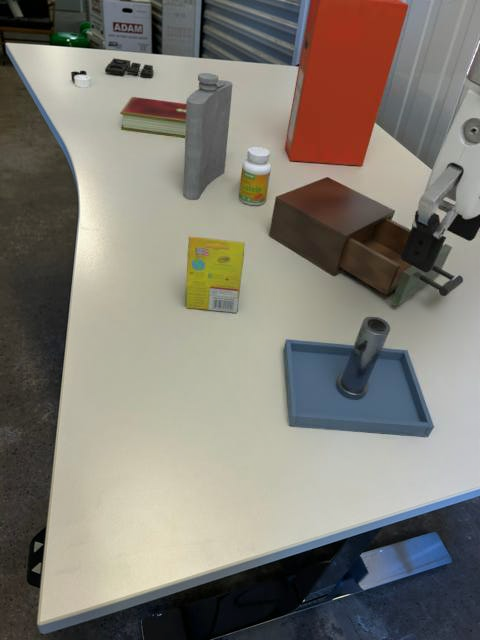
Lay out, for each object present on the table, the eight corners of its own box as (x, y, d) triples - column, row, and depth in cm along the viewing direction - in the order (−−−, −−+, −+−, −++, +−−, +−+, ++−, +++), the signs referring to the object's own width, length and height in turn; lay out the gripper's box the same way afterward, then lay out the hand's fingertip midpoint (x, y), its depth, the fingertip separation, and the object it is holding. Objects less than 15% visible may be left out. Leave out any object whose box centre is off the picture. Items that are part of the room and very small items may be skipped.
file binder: (284, 147, 115) (312, -13, 94) (353, 152, 118) (395, -2, 96) (289, 161, 109) (321, -6, 88) (362, 166, 112) (409, 5, 91)
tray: (402, 360, 64) (407, 350, 63) (427, 437, 55) (434, 426, 54) (283, 349, 63) (285, 339, 62) (289, 426, 54) (292, 415, 53)
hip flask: (195, 201, 91) (201, 89, 77) (176, 195, 91) (178, 83, 78) (226, 170, 102) (236, 68, 89) (209, 165, 103) (216, 63, 90)
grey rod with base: (375, 386, 59) (404, 324, 53) (351, 408, 56) (378, 345, 50) (350, 369, 61) (375, 306, 54) (326, 388, 58) (348, 325, 51)
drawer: (464, 291, 77) (480, 261, 73) (424, 324, 69) (440, 292, 65) (370, 239, 85) (380, 210, 82) (326, 263, 78) (335, 233, 74)
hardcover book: (132, 112, 121) (131, 94, 118) (214, 123, 122) (216, 106, 119) (121, 129, 112) (120, 111, 109) (210, 141, 113) (211, 123, 110)
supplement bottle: (236, 203, 92) (242, 154, 85) (240, 191, 96) (246, 143, 89) (264, 208, 91) (271, 159, 85) (267, 195, 96) (275, 148, 89)
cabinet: (381, 248, 85) (395, 210, 80) (334, 276, 77) (346, 236, 72) (318, 213, 92) (327, 176, 87) (268, 235, 84) (275, 196, 79)
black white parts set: (68, 88, 131) (67, 75, 129) (91, 60, 149) (90, 48, 146) (142, 100, 133) (141, 87, 130) (156, 70, 150) (156, 58, 148)
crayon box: (238, 300, 70) (247, 231, 62) (237, 314, 68) (247, 244, 60) (187, 295, 70) (190, 225, 62) (184, 308, 67) (188, 237, 60)
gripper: (523, 104, 32) (430, 299, 44) (596, 74, 42) (504, 239, 54) (425, 72, 36) (362, 260, 47) (513, 51, 46) (444, 211, 57)
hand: (438, 249), depth 50 cm, fingers open, 9 cm apart
